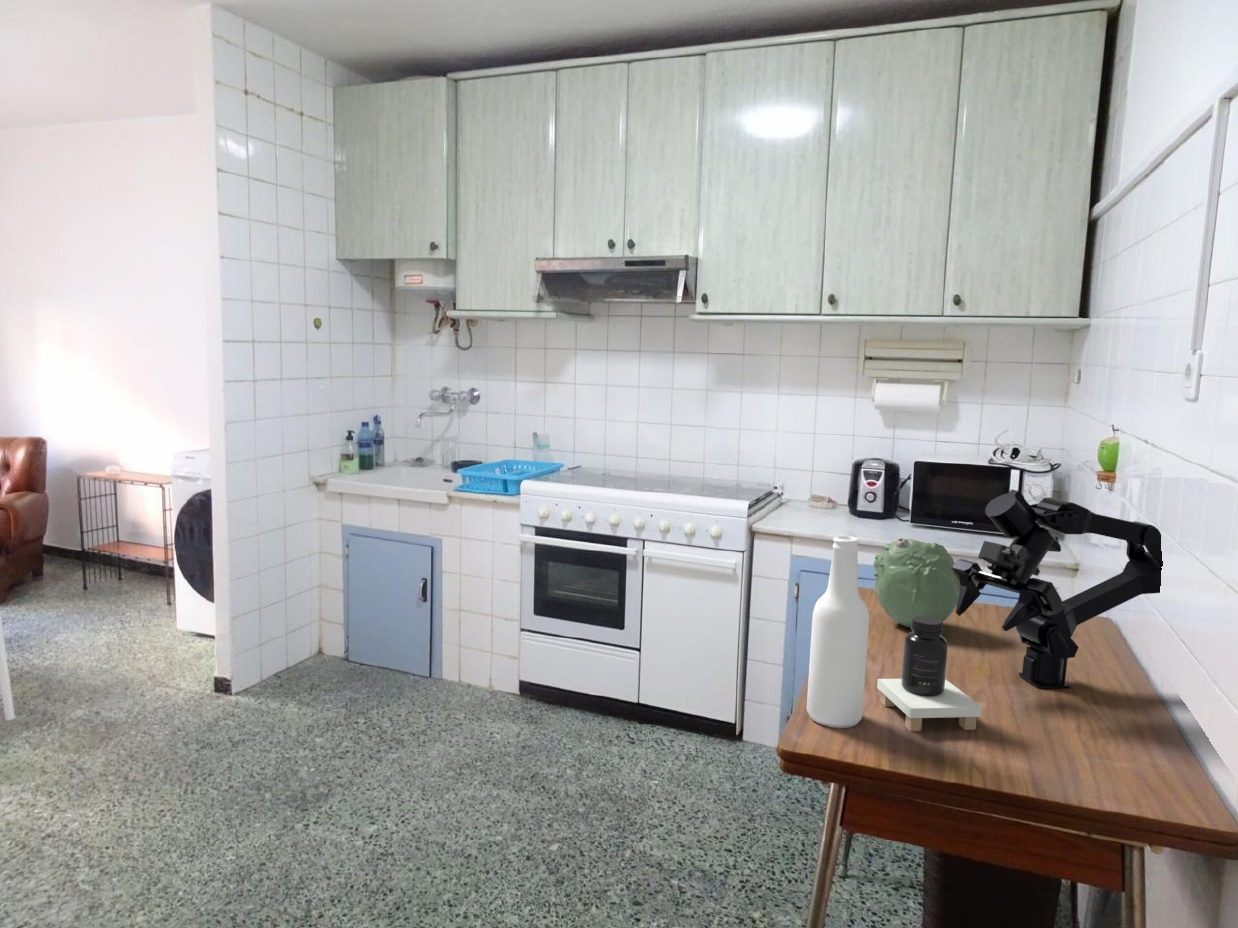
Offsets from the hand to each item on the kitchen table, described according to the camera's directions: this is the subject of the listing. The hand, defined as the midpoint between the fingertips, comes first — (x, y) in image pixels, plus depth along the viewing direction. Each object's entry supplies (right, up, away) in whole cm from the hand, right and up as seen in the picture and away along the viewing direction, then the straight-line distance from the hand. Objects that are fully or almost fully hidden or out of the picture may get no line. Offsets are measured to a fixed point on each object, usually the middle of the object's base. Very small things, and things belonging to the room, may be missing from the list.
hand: (980, 621), depth 143 cm
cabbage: (+3, -9, +40) cm, 41 cm away
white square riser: (-12, -14, -7) cm, 20 cm away
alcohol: (-28, -14, -9) cm, 33 cm away
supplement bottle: (-13, -10, -6) cm, 17 cm away
